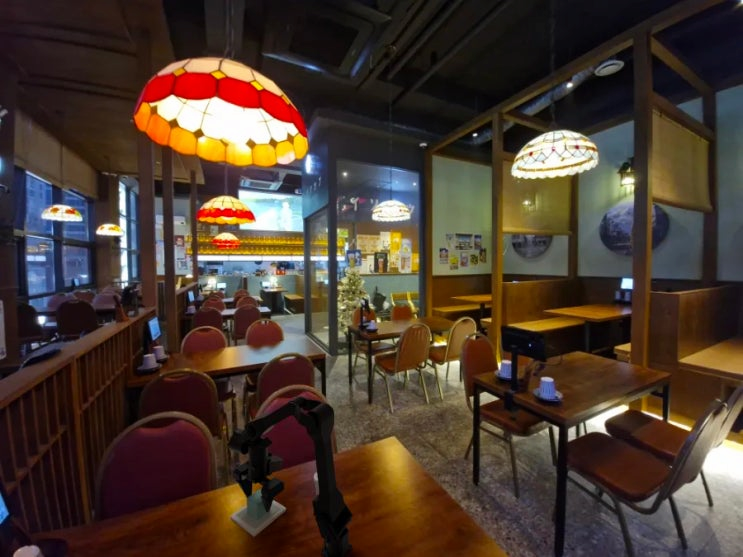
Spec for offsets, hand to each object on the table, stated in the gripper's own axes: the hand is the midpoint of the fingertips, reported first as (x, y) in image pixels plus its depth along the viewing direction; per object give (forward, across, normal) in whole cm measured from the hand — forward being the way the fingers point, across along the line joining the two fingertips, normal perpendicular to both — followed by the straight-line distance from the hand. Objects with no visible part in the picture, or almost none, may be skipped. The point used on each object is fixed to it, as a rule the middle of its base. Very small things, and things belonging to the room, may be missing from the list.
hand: (258, 505), depth 100 cm
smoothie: (+3, -14, -15) cm, 21 cm away
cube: (+2, 0, 0) cm, 2 cm away
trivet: (+3, 0, 0) cm, 3 cm away
